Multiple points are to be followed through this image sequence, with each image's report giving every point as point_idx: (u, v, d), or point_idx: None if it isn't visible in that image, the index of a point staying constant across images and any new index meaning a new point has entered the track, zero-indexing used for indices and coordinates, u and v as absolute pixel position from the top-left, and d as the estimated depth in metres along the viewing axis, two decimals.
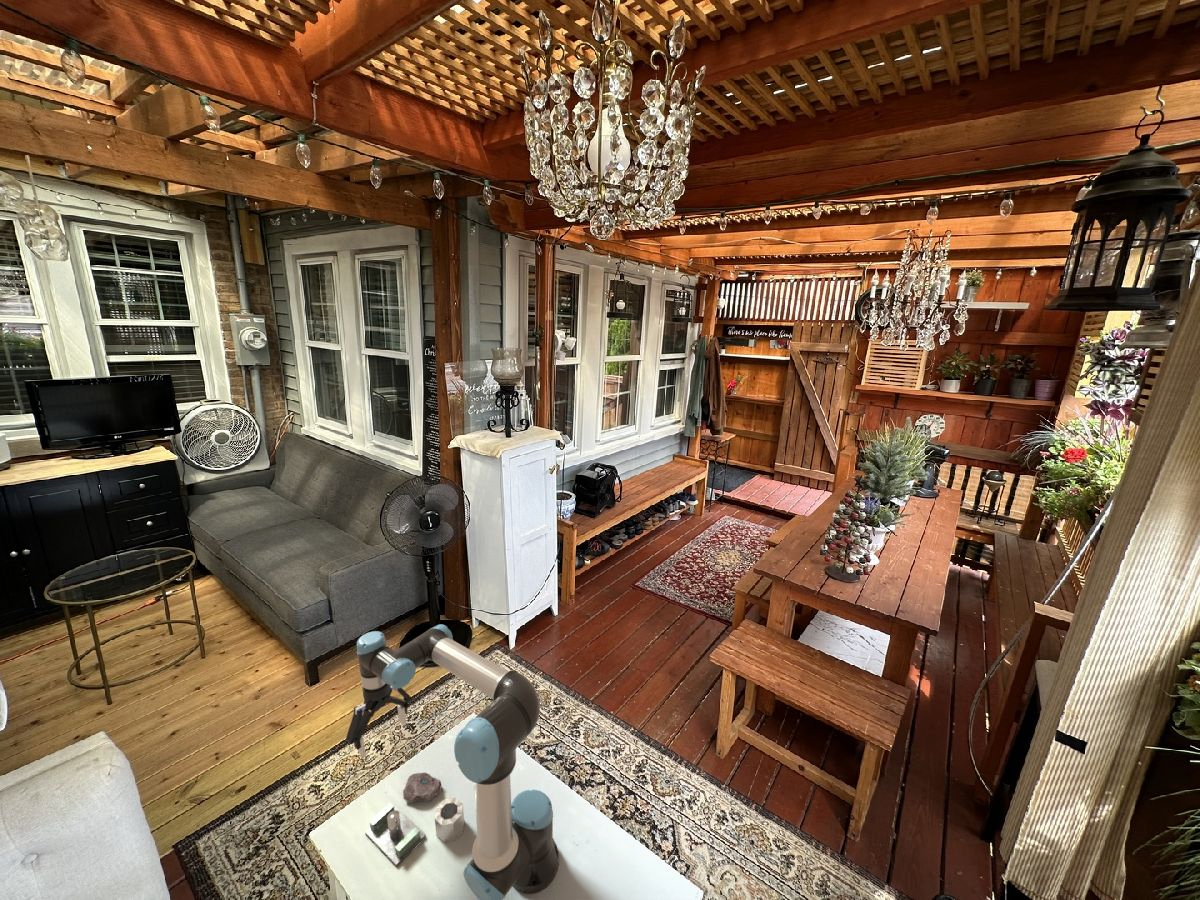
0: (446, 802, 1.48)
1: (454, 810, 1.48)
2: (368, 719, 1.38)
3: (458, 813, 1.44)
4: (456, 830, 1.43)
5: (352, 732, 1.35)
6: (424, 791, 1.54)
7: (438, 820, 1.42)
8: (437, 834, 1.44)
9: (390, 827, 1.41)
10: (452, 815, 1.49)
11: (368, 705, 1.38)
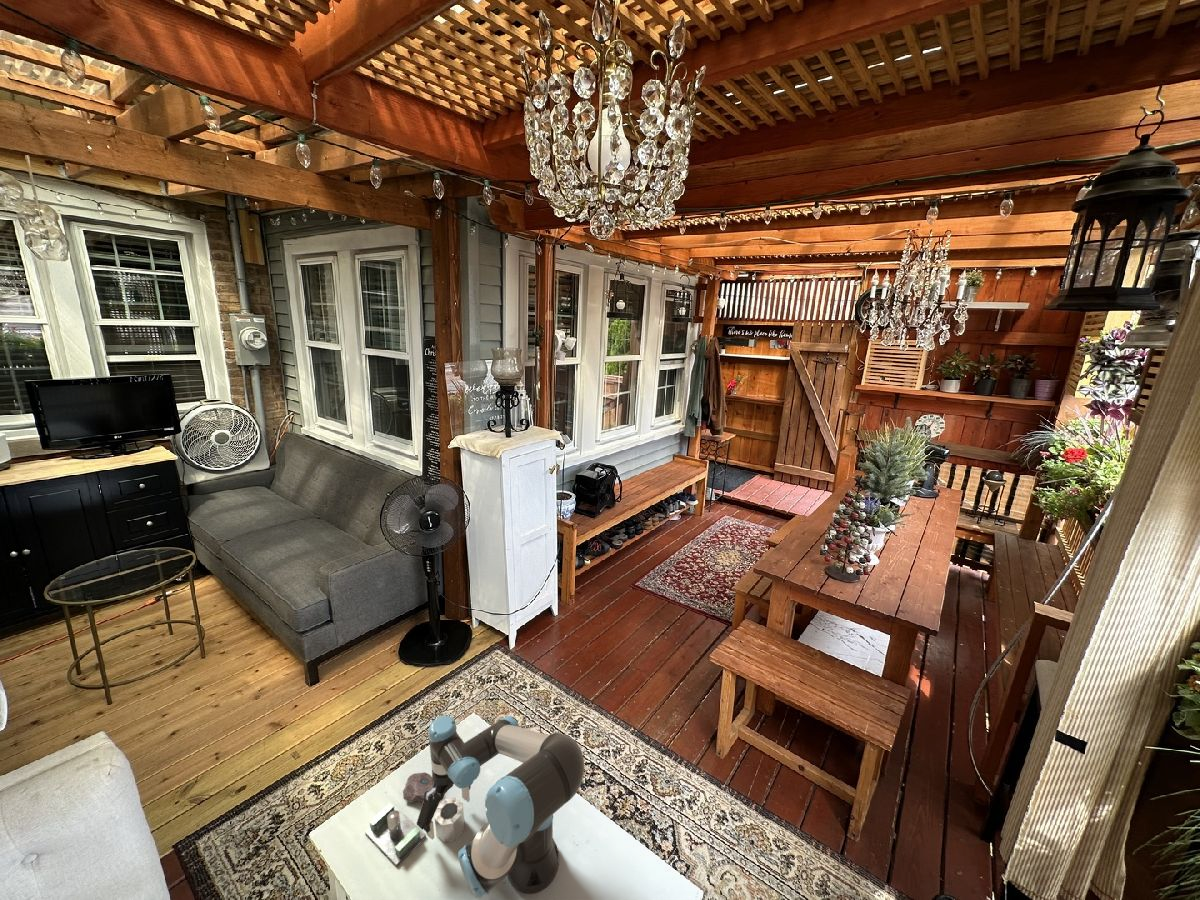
0: (446, 802, 1.48)
1: (454, 810, 1.48)
2: (437, 803, 1.39)
3: (458, 813, 1.44)
4: (456, 830, 1.43)
5: (423, 817, 1.36)
6: (424, 791, 1.54)
7: (438, 820, 1.42)
8: (437, 834, 1.44)
9: (390, 827, 1.41)
10: (452, 815, 1.49)
11: (438, 789, 1.38)
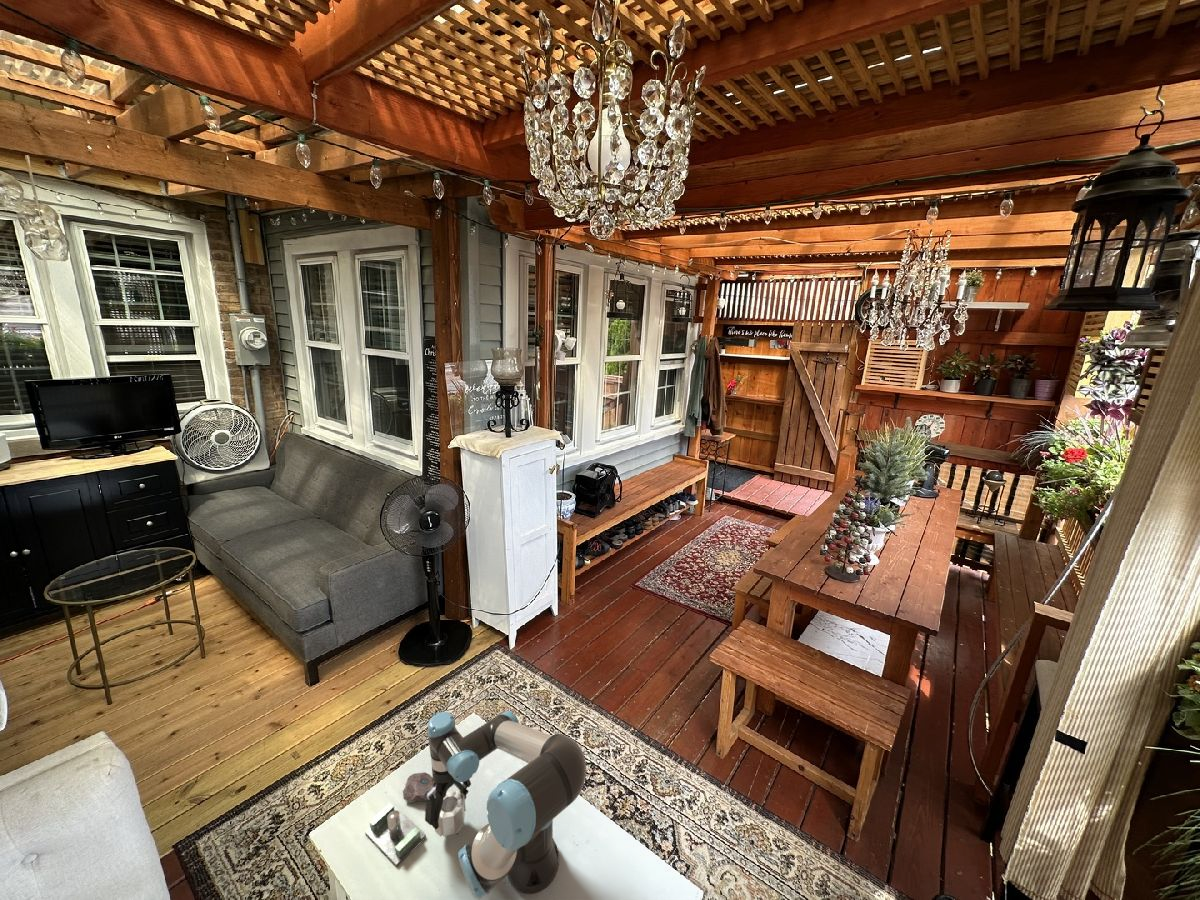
0: (446, 795, 1.46)
1: (455, 804, 1.47)
2: (441, 800, 1.39)
3: (458, 806, 1.43)
4: (456, 823, 1.42)
5: (429, 815, 1.37)
6: (424, 791, 1.54)
7: None
8: None
9: (390, 827, 1.41)
10: (452, 809, 1.47)
11: (438, 788, 1.38)
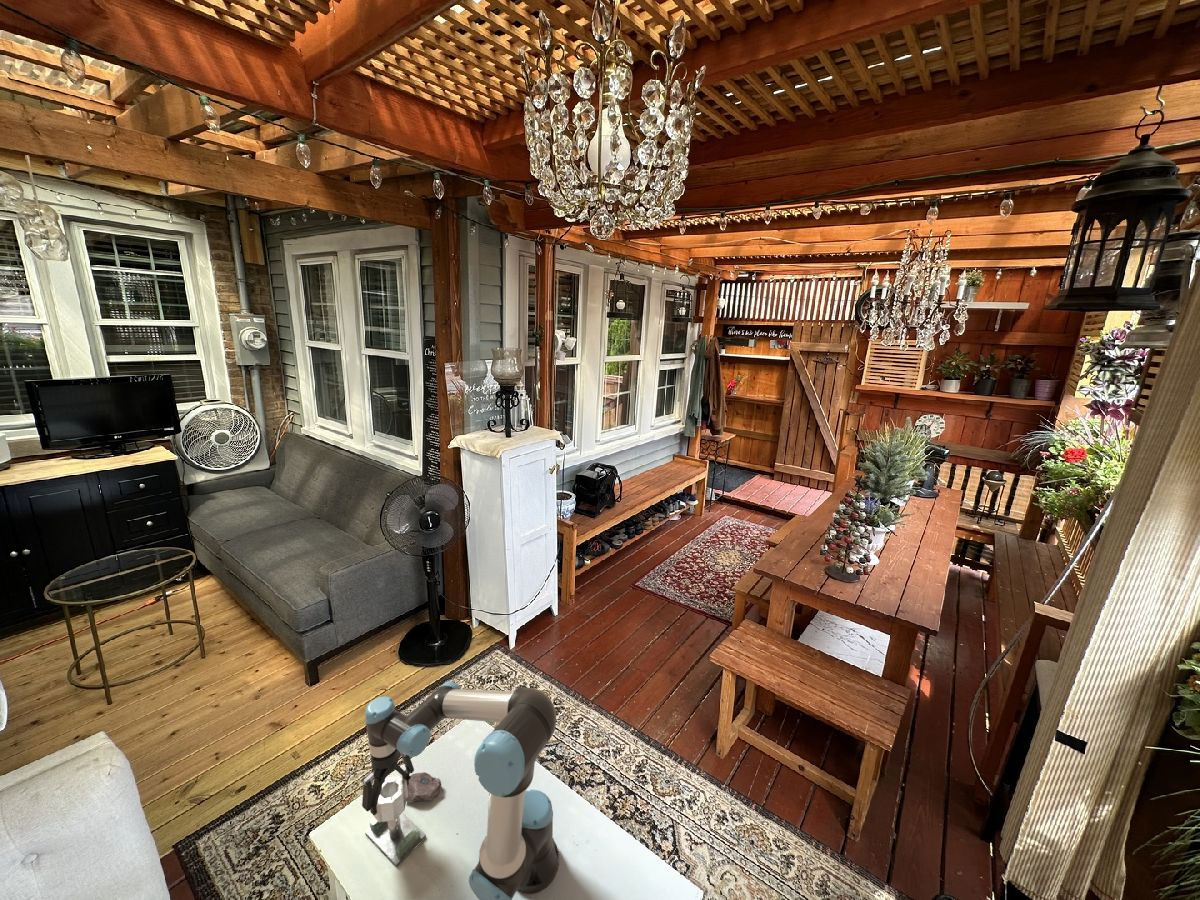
0: (387, 781, 1.42)
1: (396, 789, 1.43)
2: (380, 786, 1.35)
3: (398, 792, 1.39)
4: (395, 809, 1.38)
5: (366, 801, 1.32)
6: (424, 791, 1.54)
7: None
8: None
9: (390, 827, 1.41)
10: (394, 794, 1.43)
11: (376, 774, 1.33)
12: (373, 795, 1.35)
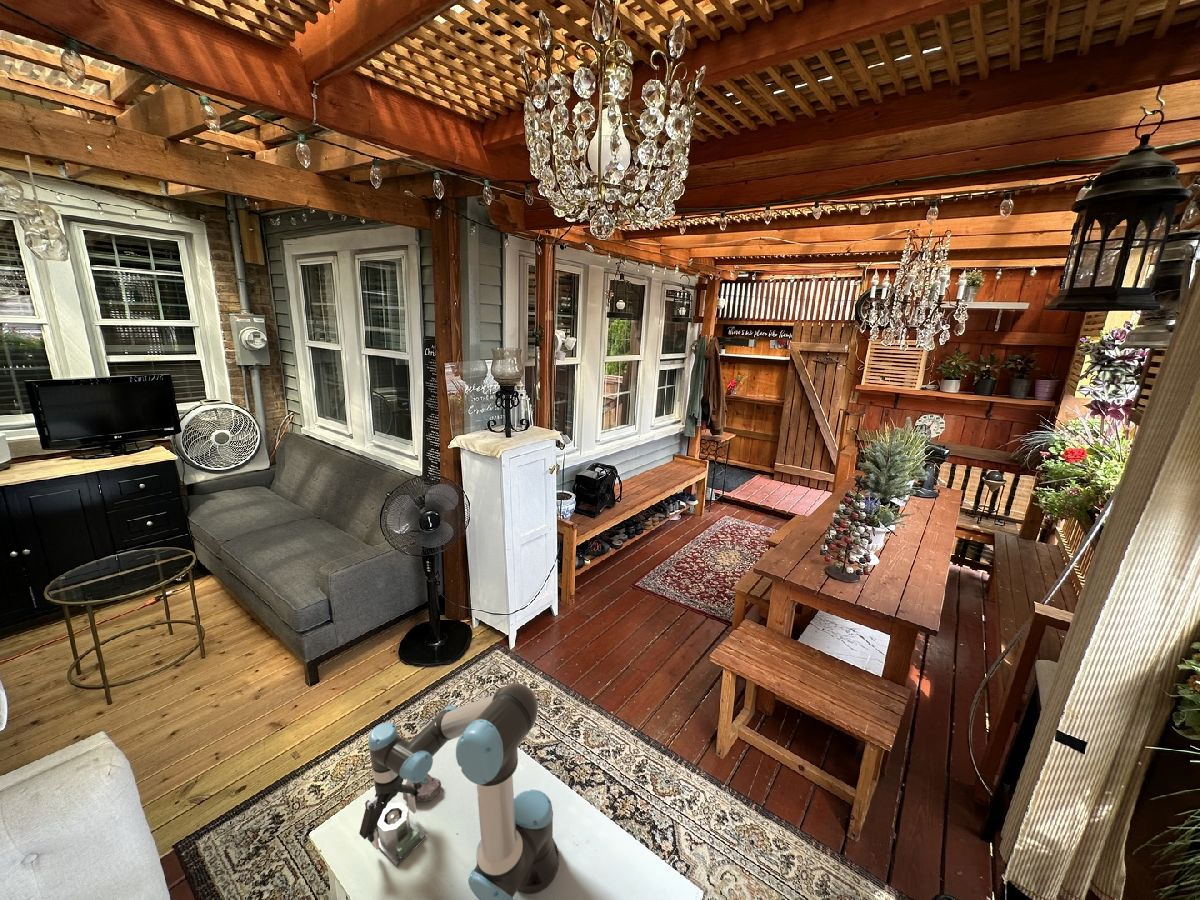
0: (391, 807, 1.45)
1: (400, 815, 1.45)
2: (380, 812, 1.36)
3: (402, 818, 1.41)
4: (399, 835, 1.40)
5: (365, 827, 1.33)
6: (424, 791, 1.54)
7: (381, 825, 1.39)
8: (380, 840, 1.41)
9: None
10: None
11: (380, 798, 1.36)
12: (372, 821, 1.36)
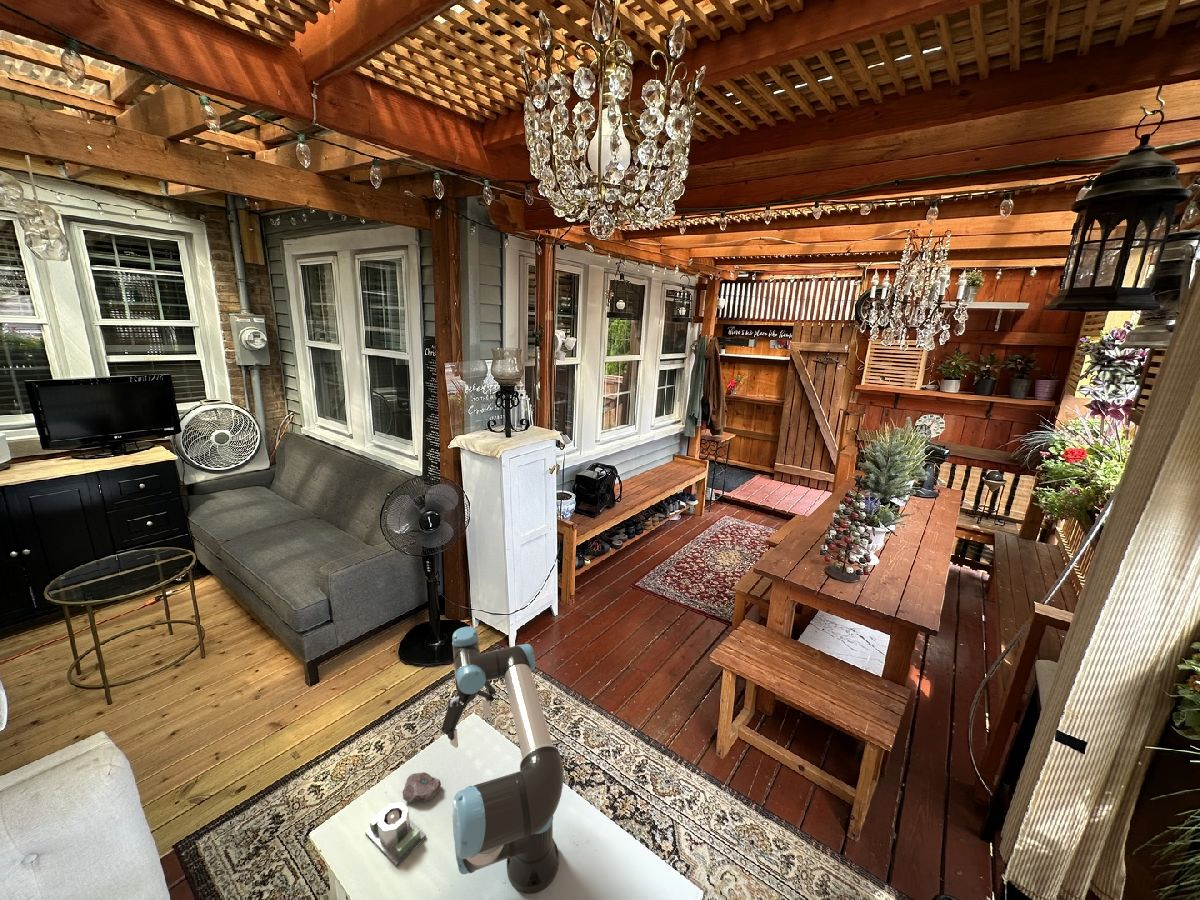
0: (391, 807, 1.45)
1: (400, 815, 1.45)
2: (461, 711, 1.43)
3: (402, 818, 1.41)
4: (399, 835, 1.40)
5: (448, 723, 1.40)
6: (423, 791, 1.54)
7: (381, 825, 1.39)
8: (380, 840, 1.41)
9: None
10: None
11: (461, 697, 1.43)
12: (453, 720, 1.42)
